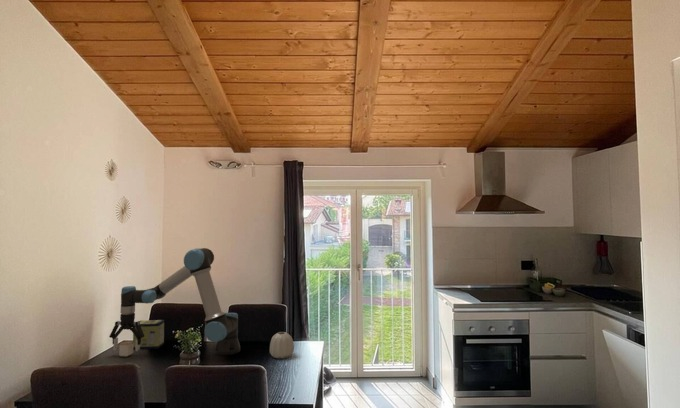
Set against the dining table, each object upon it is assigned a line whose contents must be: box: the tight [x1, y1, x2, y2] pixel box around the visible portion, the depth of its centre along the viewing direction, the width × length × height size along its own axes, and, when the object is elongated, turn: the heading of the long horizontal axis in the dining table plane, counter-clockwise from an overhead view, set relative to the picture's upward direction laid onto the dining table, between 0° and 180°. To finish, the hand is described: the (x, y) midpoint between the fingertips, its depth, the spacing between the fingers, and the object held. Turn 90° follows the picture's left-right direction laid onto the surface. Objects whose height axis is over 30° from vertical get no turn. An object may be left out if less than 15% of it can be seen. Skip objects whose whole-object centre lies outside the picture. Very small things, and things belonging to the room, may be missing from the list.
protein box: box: [132, 319, 165, 350], centre depth 245 cm, size 10×16×16 cm
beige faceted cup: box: [118, 341, 134, 357], centre depth 226 cm, size 5×5×7 cm
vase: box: [269, 331, 295, 359], centre depth 224 cm, size 14×14×13 cm
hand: (126, 350), depth 226 cm, fingers open, 13 cm apart
